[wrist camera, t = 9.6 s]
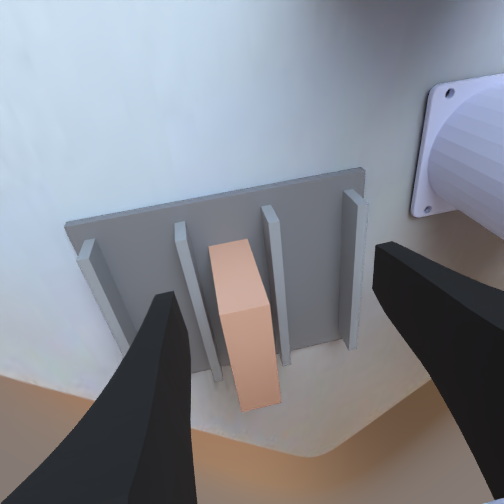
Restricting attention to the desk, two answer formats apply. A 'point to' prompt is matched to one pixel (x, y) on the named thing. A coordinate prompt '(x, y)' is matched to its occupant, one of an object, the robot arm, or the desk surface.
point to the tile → (246, 324)
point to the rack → (264, 251)
